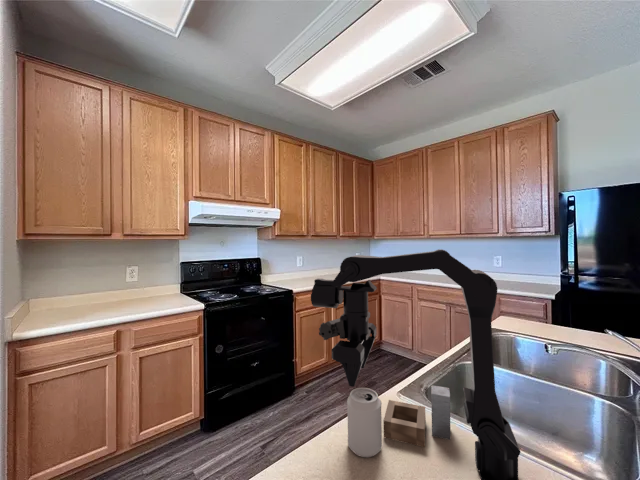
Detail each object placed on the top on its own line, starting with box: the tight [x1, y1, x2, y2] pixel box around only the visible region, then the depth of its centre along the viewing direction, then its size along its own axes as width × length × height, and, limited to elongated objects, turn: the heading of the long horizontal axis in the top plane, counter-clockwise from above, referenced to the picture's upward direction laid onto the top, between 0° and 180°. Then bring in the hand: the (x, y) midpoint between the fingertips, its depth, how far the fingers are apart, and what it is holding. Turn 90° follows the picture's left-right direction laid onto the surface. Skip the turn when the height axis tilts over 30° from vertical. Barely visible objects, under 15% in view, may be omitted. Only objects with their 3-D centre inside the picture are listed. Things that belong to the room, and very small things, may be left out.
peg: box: [430, 385, 452, 441], centre depth 68 cm, size 4×4×10 cm
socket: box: [383, 399, 427, 448], centre depth 69 cm, size 9×9×4 cm
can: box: [346, 387, 383, 458], centre depth 63 cm, size 8×8×12 cm
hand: (357, 376), depth 66 cm, fingers open, 9 cm apart
